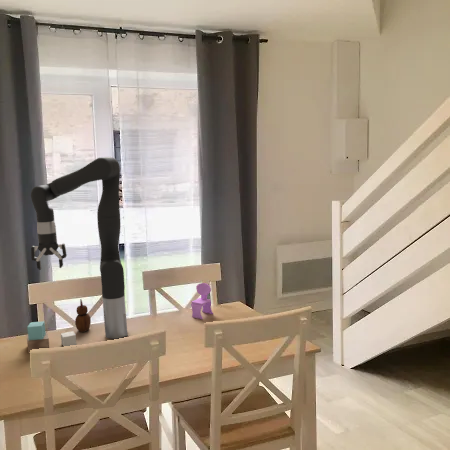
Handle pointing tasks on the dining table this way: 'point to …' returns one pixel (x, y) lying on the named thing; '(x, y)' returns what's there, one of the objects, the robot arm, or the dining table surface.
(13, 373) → the dining table surface
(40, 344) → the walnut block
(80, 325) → the wooden figurine
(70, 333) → the grey cube
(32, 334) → the teal cube
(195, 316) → the toy chair
